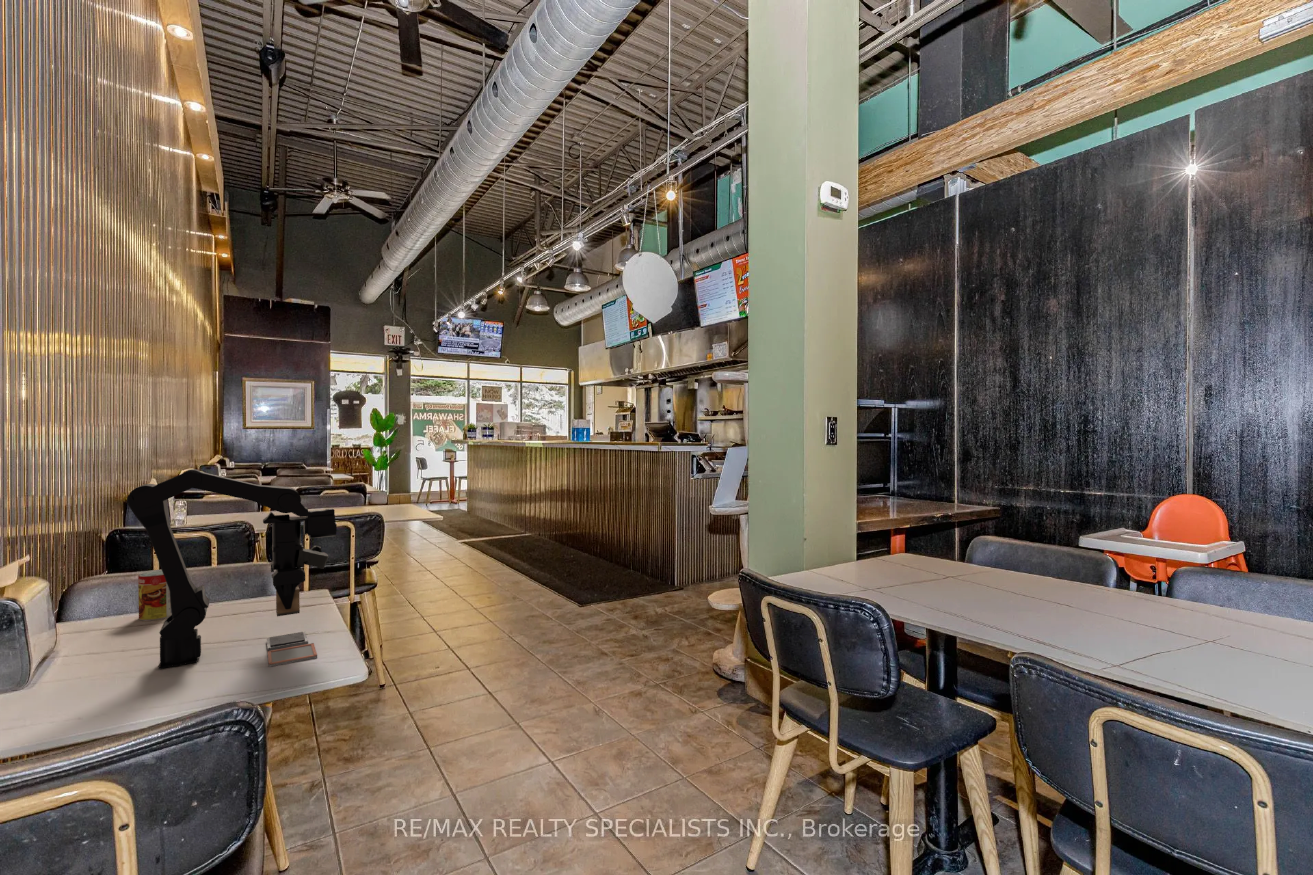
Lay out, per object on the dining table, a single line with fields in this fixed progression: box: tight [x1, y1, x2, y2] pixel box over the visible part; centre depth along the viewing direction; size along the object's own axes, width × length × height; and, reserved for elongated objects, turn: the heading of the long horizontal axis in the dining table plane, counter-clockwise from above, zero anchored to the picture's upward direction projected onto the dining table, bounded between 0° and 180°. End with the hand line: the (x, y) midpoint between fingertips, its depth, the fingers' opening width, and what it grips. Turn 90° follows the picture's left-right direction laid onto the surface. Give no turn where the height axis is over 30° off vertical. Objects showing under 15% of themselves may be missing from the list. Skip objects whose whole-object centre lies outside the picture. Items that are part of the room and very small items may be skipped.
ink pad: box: [266, 631, 309, 652], centre depth 142 cm, size 8×8×1 cm
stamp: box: [275, 585, 301, 617], centre depth 142 cm, size 4×4×6 cm
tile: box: [267, 642, 318, 667], centre depth 134 cm, size 9×9×1 cm
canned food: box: [137, 568, 172, 622], centre depth 163 cm, size 8×8×12 cm
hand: (287, 606), depth 142 cm, fingers closed on stamp, 4 cm apart
